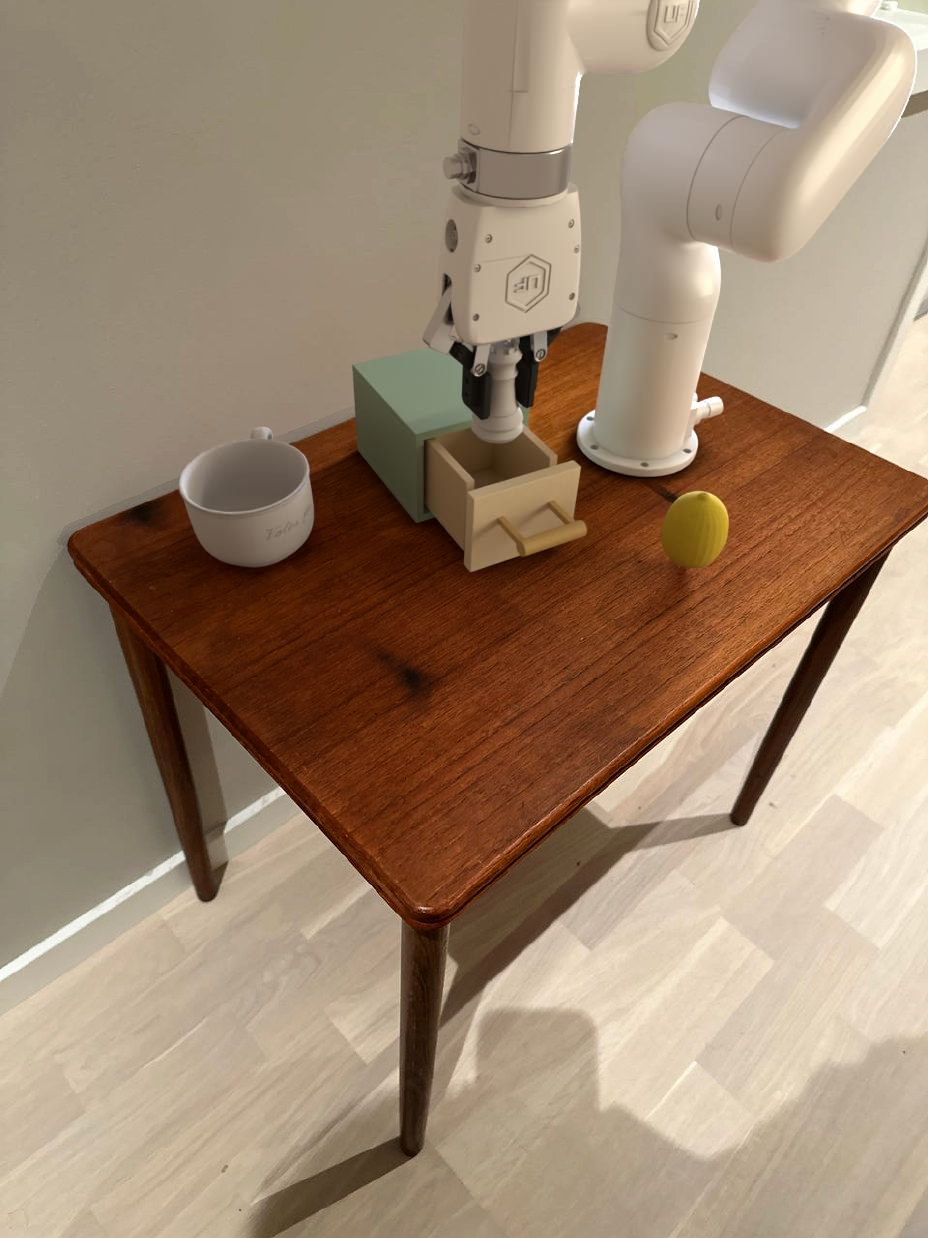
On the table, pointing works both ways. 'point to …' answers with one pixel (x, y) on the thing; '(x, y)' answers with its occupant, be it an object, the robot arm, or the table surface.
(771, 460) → the table surface
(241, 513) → the teacup
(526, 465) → the drawer
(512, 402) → the rook chess piece
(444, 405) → the cabinet
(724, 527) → the lemon
